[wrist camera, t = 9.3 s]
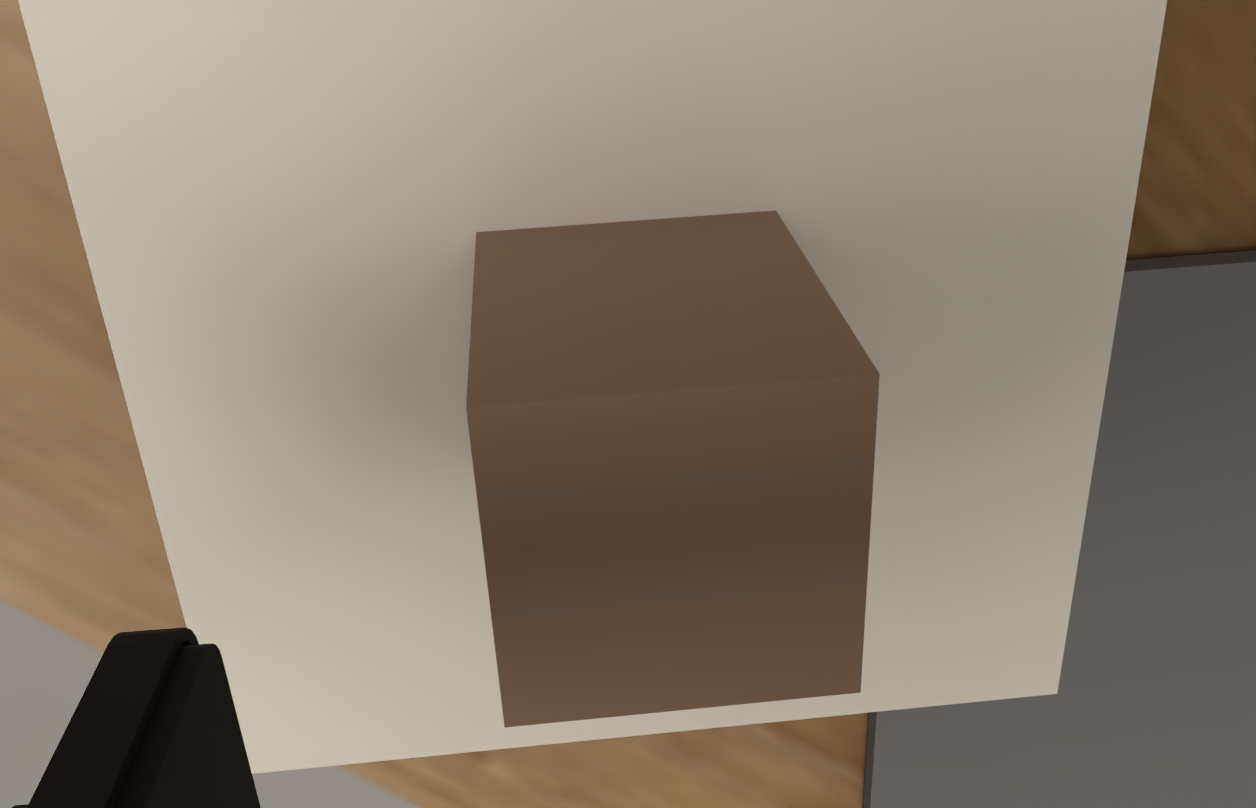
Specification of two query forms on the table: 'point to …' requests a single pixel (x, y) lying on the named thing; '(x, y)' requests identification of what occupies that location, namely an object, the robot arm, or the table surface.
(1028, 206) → the lid
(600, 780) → the table surface
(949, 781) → the mat
